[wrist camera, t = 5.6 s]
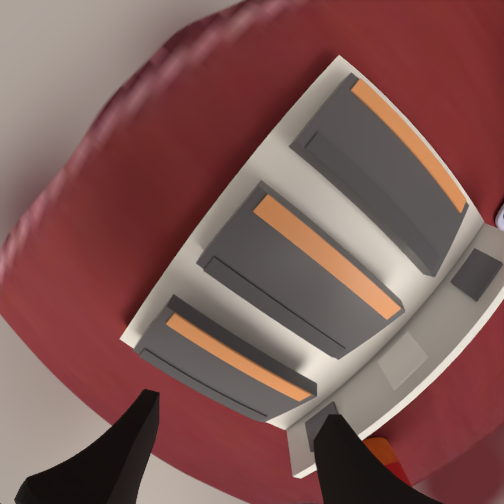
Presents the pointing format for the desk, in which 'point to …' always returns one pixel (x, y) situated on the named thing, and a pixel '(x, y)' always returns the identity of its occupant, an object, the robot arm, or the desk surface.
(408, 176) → the switch
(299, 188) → the switch unit
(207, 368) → the switch
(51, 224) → the desk surface
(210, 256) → the switch
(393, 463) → the paper cup
